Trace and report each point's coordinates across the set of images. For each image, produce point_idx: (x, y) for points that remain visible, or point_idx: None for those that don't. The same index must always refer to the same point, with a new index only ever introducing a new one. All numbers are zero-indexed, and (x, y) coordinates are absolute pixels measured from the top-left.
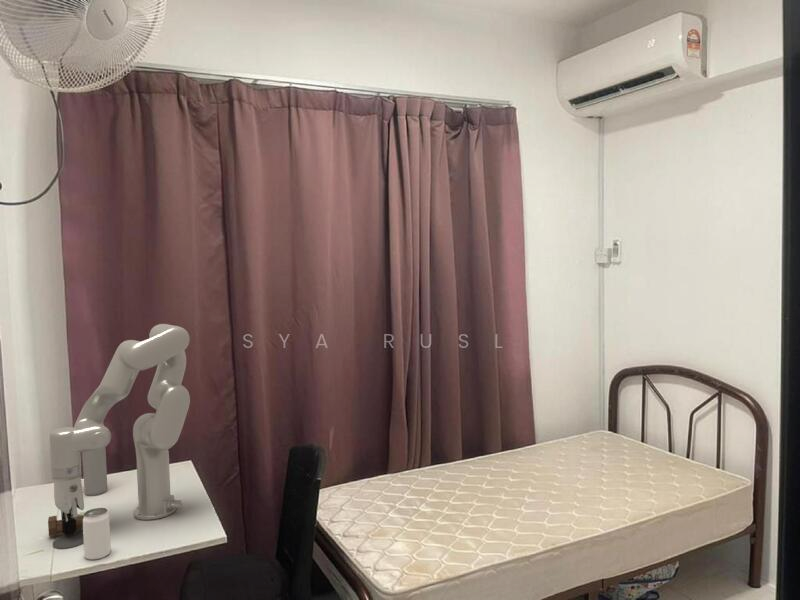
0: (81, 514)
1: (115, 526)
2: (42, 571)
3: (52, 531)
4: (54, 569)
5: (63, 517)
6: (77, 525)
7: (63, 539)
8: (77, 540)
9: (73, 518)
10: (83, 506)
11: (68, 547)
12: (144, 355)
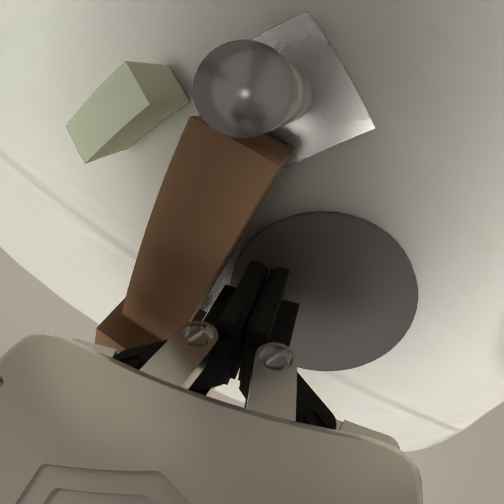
0: (95, 138)
1: (380, 18)
2: (425, 436)
3: None
4: (453, 422)
5: (209, 394)
6: (236, 242)
7: None
8: (370, 297)
9: (307, 394)
10: (421, 493)
11: (384, 350)
12: None
